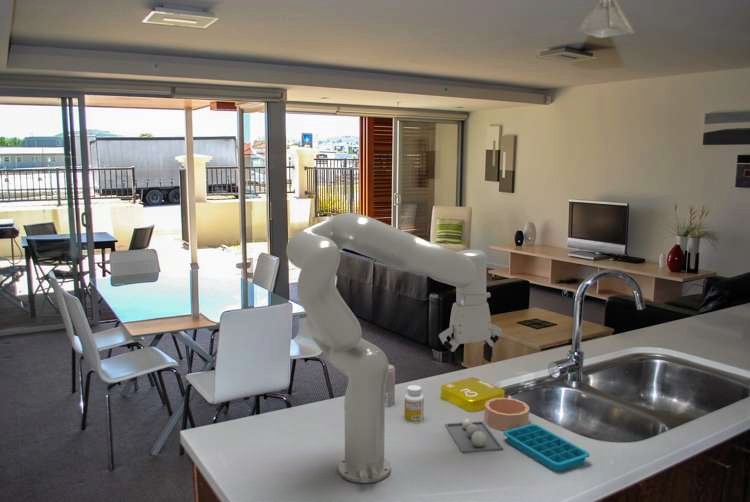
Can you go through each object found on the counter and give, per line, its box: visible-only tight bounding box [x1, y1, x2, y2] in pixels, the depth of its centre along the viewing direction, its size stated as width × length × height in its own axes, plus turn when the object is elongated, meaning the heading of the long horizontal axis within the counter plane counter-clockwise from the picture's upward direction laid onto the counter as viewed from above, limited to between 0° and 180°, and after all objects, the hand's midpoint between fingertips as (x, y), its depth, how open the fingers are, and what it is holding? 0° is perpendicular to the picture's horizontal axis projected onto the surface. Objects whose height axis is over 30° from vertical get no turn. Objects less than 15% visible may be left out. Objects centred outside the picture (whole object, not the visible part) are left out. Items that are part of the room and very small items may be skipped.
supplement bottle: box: [404, 384, 425, 424], centre depth 176 cm, size 5×5×10 cm
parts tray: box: [444, 421, 504, 454], centre depth 165 cm, size 16×11×1 cm
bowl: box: [483, 397, 530, 432], centre depth 174 cm, size 12×12×5 cm
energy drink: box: [385, 363, 396, 408], centre depth 186 cm, size 5×5×12 cm
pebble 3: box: [471, 431, 487, 447], centre depth 160 cm, size 4×4×4 cm
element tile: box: [440, 376, 506, 413], centre depth 190 cm, size 15×15×5 cm
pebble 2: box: [466, 424, 480, 437], centre depth 165 cm, size 4×4×4 cm
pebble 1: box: [461, 417, 474, 429], centre depth 169 cm, size 3×3×3 cm
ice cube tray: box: [503, 423, 591, 472], centre depth 157 cm, size 12×20×3 cm, turn 29°
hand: (470, 362), depth 160 cm, fingers open, 9 cm apart
